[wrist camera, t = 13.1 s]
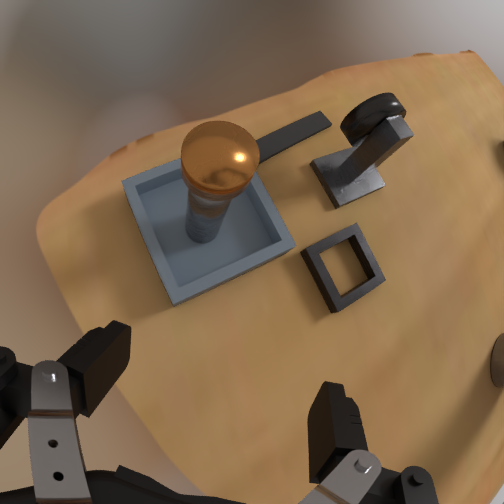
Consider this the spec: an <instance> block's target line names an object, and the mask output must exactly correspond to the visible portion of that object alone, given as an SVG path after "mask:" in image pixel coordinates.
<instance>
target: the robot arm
mask: <svg viewBox="0 0 504 504" xmlns="http://www.w3.org/2000/svg"><path fill="white" fill-rule="evenodd" d="M130 345H131V327H130V326H128V325H126V324H123V323H121V322H118V321H115V320H113V321H112V322H110V323H109V324H108V325H107V326H106V327H105V328H101V327H98V328H95V329H93V330H90V331H88V332H87V333H86V334H85V335H84V336H83V337H82V339H80V340H78V341H77V343H76V344H74V345H73V346H72V347H71V348H70V349H69V350H67V351H66V352H65V353H64V354H63V355H62V356H61V357H60V358H59V359H58V360H57V361H53V360H45V361H41V362H39V363H37V364H36V365H35V366H30V365H26V364H23V363H19V362H17V361H16V357H15V354H14V352H13V351H11V350H10V349H9V348H6V347H1V346H0V449H1V448H2V447H3V445H4V444H5V443H6V441H7V440H8V439H9V438H10V436H11V435H12V434H13V432H14V431H15V430H16V429H17V427H18V426H19V425H20V423H21V422H22V421H23V420H24V418H25V417H26V418H28V431H29V432H28V433H29V447H30V459H31V468H32V476H33V482H34V486H30V487H26V488H21V489H17V490H12V491H7V492H1V493H0V504H246V503H241V502H236V501H231V500H227V499H222V498H218V497H210V496H194V495H183V494H178V493H176V492H174V491H172V490H171V489H169V488H167V487H165V486H164V485H162V484H160V483H159V482H157V481H155V480H154V479H152V478H150V477H148V476H146V475H143V474H141V473H138V472H135V471H133V470H130V469H128V468H126V467H123V466H121V465H119V467H118V468H117V470H116V472H114V471H106V470H92V471H87V470H86V467H85V463H84V459H83V454H82V450H81V445H80V441H79V436H78V430H77V425H76V418H77V416H78V415H79V414H82V415H84V416H86V417H88V418H89V417H90V416H91V414H92V413H93V412H94V410H95V409H96V408H97V406H98V405H99V403H100V402H101V401H102V399H103V398H104V397H105V395H106V394H107V393H108V391H109V390H110V389H111V387H112V386H113V385H114V383H115V382H116V381H117V380H118V378H119V377H120V376H121V374H122V373H123V372H124V370H125V369H126V367H127V365H128V362H129V359H130ZM491 374H492V379H493V382H494V384H495V385H496V386H497V387H504V333H503V334H501V335H500V336H499V338H498V339H497V341H496V343H495V346H494V349H493V353H492V359H491ZM308 447H309V483H316V484H319V485H317V486H316V487H315V488H314V489H313V490H312V491H311V492H310V493H309V494H308V495H307V496H306V497H305V498H304V499H303V500H302V501H300V502H299V503H298V504H439V503H438V499H437V495H436V491H435V487H434V484H433V480H432V477H431V475H430V474H429V473H428V472H427V471H426V470H425V469H423V468H421V467H418V466H410V467H407V468H405V469H404V470H403V471H402V472H401V473H399V472H396V471H392V470H389V469H385V468H383V467H381V463H380V461H379V459H378V458H377V457H376V456H375V455H374V454H372V453H370V452H369V451H368V447H367V442H366V438H365V433H364V429H363V426H362V421H361V418H360V412H359V408H358V406H357V405H356V403H355V402H354V400H353V399H352V398H349V397H346V395H345V391H344V386H343V385H342V384H338V383H332V382H327V381H325V382H324V383H323V384H322V386H321V388H320V390H319V392H318V394H317V396H316V398H315V400H314V402H313V404H312V406H311V408H310V411H309V414H308Z"/></svg>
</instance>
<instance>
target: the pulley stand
mask: <svg viewBox="0 0 504 504" xmlns="http://www.w3.org/2000/svg"><path fill="white" fill-rule="evenodd" d="M405 115H406V110H405V109H404V107H403V106H402V105H401V103H400V102H399V100H398V99H397V98H396V96H395V95H394V94H393V93H382V94H379V95H376V96H373V97H371V98H369V99H367V100H366V101H364V102H362V103H361V104H359V105H358V106H357V107H355V108H354V109H353V110H352V111H351V112H350V113H349V114H348V115H347V116H346V117H345V118H344V119H343V121H342V123H341V126H340V129H341V130H342V132H343V133H344V135H345V136H346V138H347V139H348V141H349V143H350V144H351V145H352V146H353V147H352V148H349V149H345V150H342V151H339V152H336V153H332V154H329V155H326V156H323V157H320V158H317V159H314V160H312V162H311V163H310V165H311V167H312V169H313V170H314V172H315V174H316V175H317V177H318V179H319V181H320V182H321V184H322V186H323V187H324V189H325V191H326V193H327V194H328V196H329V198H330V200H331V201H332V203H333V205H334V207H335V208H336V209H337V208H339V207H341V206H343V205H346V204H348V203H350V202H352V201H355V200H357V199H359V198H361V197H363V196H366V195H368V194H370V193H372V192H375V191H377V190H379V189H381V188H383V187H384V186H385V183H384V182H383V180H382V178H381V176H380V175H379V173H378V171H377V170H376V168H377V167H378V166H379V165H380V164H381V163H382V162H384V161H385V160H386V159H387V158H388V157H389V156H391V155H392V154H393V153H394V152H395V151H396V150H398V149H399V148H400V147H401V146H402V145H403V144H405V143H406V142H407V141H408V140H409V139H410V138H412V137H413V136H414V134H413V132H412V131H411V129H410V128H409V126H408V125H407V123H406V122H405V121H404V119H403V118H404V117H405Z"/></svg>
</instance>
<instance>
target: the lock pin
mask: <svg viewBox="0 0 504 504" xmlns="http://www.w3.org/2000/svg"><path fill="white" fill-rule="evenodd" d="M259 159H260V153H259V148H258V145H257V143H256V141H255V139H254V138H253V137H252V135H251V134H250V133H249V132H247V131H246V130H245V129H243V128H242V127H240V126H238V125H236V124H234V123H230V122H226V121H210V122H206V123H203V124H200V125H198V126H196V127H195V128H194V129H192V130H191V131H190V132H189V133H188V134H187V136H186V137H185V139H184V141H183V144H182V150H181V176H182V179H183V181H184V183H185V185H186V186H187V187H188V198H187V210H186V223H185V230H186V233H187V235H188V237H189V238H190V239H191V240H193V241H194V242H197V243H202V244H203V243H208V242H211V241H212V240H214V239H215V238H216V236H217V235H218V233H219V230H220V228H221V225H222V223H223V220H224V218H225V215H226V213H227V210H228V208H229V205H230V203H231V201H232V199H233V198H235V197H237V196H238V195H240V194H241V193H242V192H244V190H245V189H246V188H247V186H248V185H249V183H250V181H251V179H252V177H253V175H254V173H255V171H256V169H257V166H258V164H259Z"/></svg>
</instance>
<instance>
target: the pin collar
mask: <svg viewBox="0 0 504 504" xmlns="http://www.w3.org/2000/svg"><path fill="white" fill-rule="evenodd" d="M347 238H348V240H349V242H350V244H351V246H352V248H353V250H354V251H355V253H356V255H357V257H358V259H359V261H360V263H361V265H362V267H363V269H364V271H365V273H366V275H367V277H368V279H367V280H365V281H364V282H362V283H361V284H359V285H358V286H356V287H355V288H353V289H351V290H350V291H348V292H347V293H345V294H343V295H342V296H340V294H339V292H338V290H337V288H336V286H335V284H334V282H333V280H332V278H331V276H330V274H329V273H328V271H327V269H326V267H325V265H324V263H323V261H322V259H321V257H320V255H319V253H321V252H323V251H325V250H327V249H328V248H330V247H332V246H334V245H336V244H338V243H340V242H342V241H344V240H346V239H347ZM300 253H301V255H302V257H303V259H304V261H305V263H306V264H307V266H308V268H309V270H310V272H311V274H312V276H313V278H314V280H315V282H316V284H317V286H318V288H319V290H320V292H321V294H322V296H323V298H324V300H325V302H326V304H327V306H328V308H329V310H330V312H331V313H336V312H339V311H341V310H342V309H344V308H346V307H347V306H349V305H350V304H352V303H353V302H355V301H356V300H358V299H359V298H361V297H362V296H364V295H365V294H367V293H368V292H370V291H371V290H373V289H374V288H375V287H377V286H378V285H380V284H381V283H383V282H384V281H386V279H385V277H384V275H383V273H382V271H381V269H380V267H379V265H378V263H377V261H376V259H375V257H374V255H373V253H372V251H371V249H370V247H369V245H368V243H367V241H366V239H365V238H364V236H363V234H362V232H361V230H360V228H359V226H358V224H357V223H355V224H353V225H351V226H349V227H347V228H345V229H343V230H341V231H339V232H337V233H335V234H333V235H331V236H329V237H327V238H325V239H323V240H321V241H319V242H317V243H315V244H313V245H311V246H309V247H307V248H305V249H304V250H302V251H301V252H300Z"/></svg>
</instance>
